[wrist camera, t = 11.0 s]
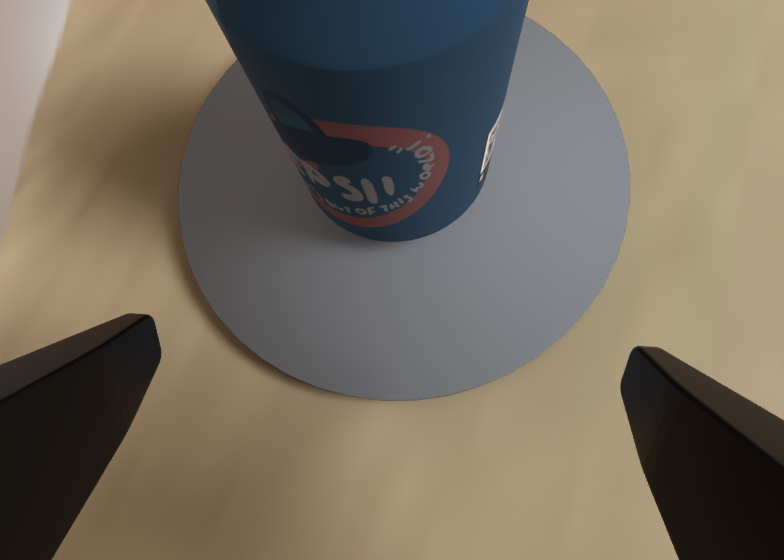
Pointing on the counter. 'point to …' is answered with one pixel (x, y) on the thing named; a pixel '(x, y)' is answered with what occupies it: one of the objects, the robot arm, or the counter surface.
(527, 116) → the rubber mat
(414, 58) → the soda can
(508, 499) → the counter surface
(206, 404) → the counter surface
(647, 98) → the counter surface
